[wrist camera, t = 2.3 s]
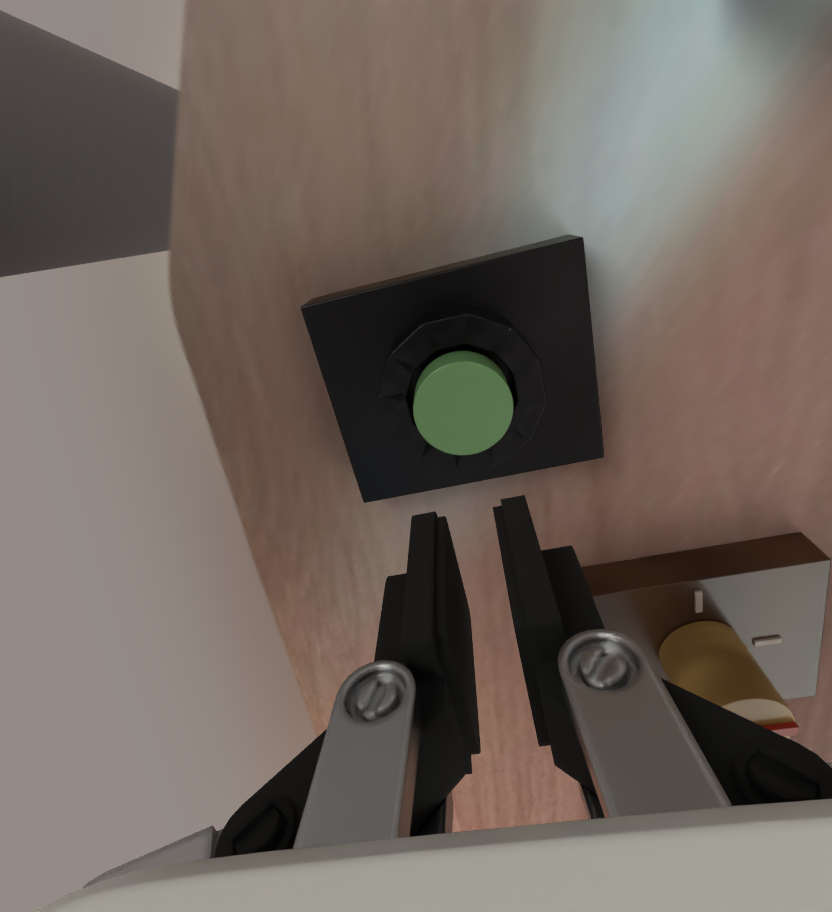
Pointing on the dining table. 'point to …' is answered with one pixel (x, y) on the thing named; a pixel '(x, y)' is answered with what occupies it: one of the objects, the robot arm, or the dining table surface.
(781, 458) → the dining table surface
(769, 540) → the dimmer panel
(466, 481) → the switch box
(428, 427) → the power button
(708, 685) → the dimmer knob
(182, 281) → the dining table surface
